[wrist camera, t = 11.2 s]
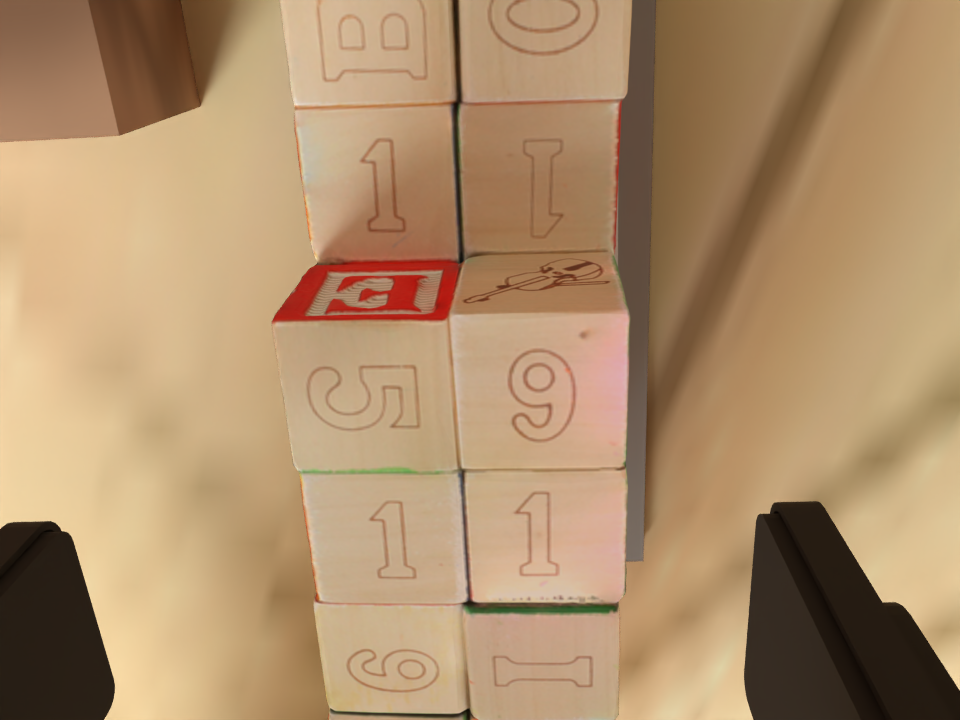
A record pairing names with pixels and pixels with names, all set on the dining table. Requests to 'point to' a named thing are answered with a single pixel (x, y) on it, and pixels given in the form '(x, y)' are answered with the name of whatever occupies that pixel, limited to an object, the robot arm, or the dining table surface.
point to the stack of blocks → (461, 353)
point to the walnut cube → (91, 67)
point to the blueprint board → (637, 250)
